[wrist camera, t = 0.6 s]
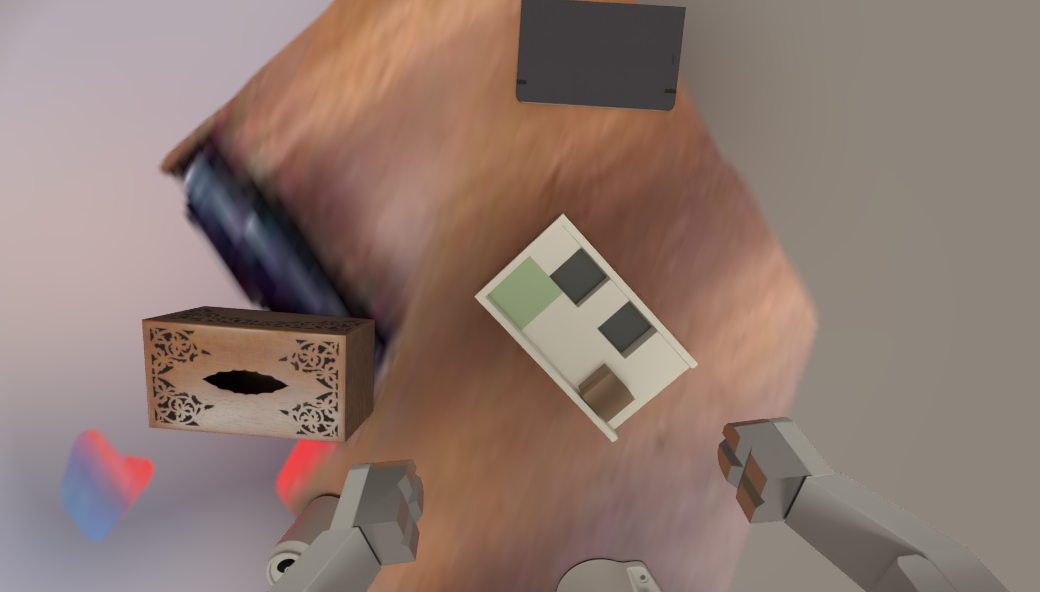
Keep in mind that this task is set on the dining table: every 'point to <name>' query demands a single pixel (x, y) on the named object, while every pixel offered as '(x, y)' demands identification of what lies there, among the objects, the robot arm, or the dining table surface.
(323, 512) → the can
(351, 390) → the tissue box cover
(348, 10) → the dining table surface
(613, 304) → the box
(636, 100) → the notebook
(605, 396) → the walnut block
